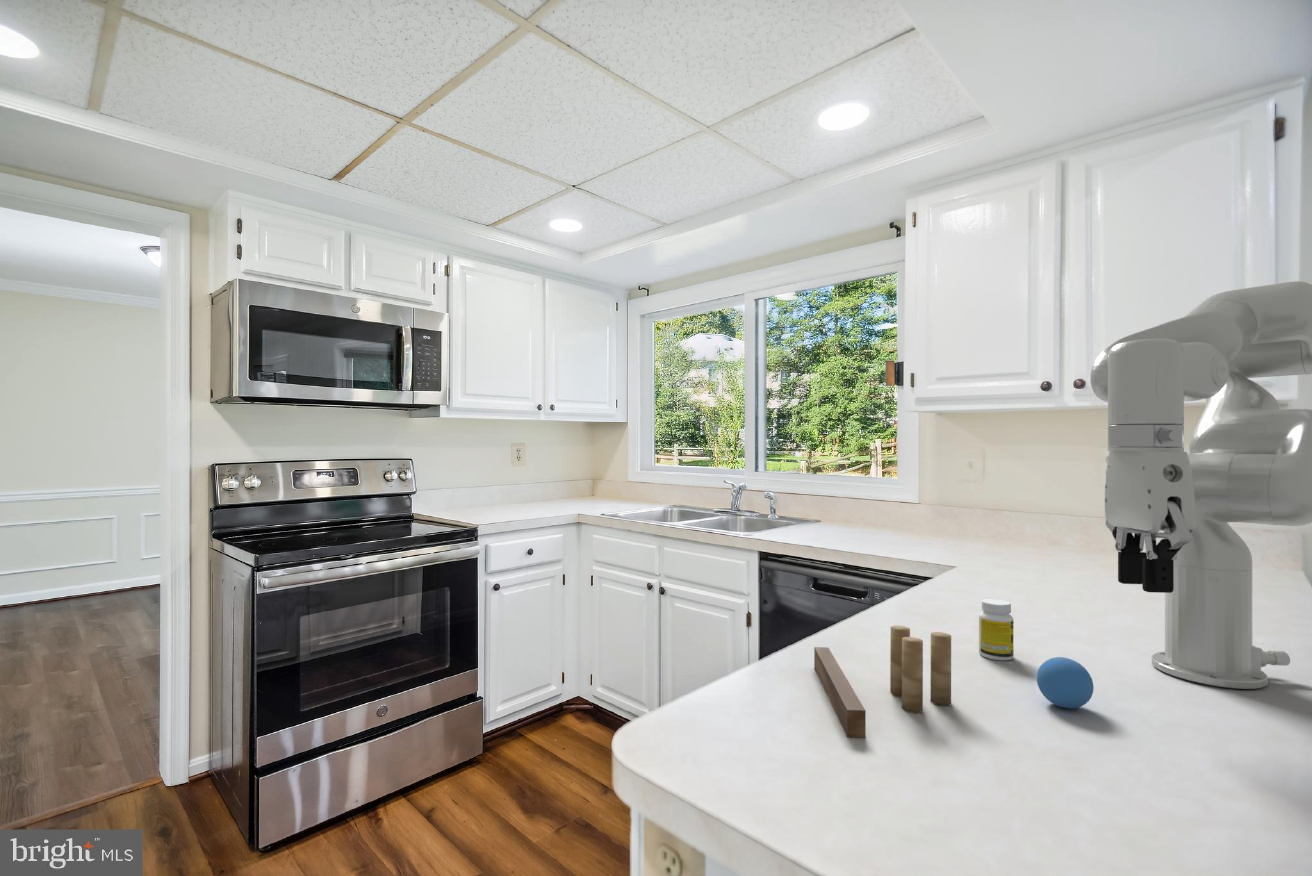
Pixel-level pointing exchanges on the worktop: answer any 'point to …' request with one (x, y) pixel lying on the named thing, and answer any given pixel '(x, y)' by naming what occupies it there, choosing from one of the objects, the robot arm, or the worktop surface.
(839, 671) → the back rail
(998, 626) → the supplement bottle
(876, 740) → the worktop surface
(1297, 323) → the robot arm
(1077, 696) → the ball
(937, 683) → the pin front
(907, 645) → the pin
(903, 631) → the pin
